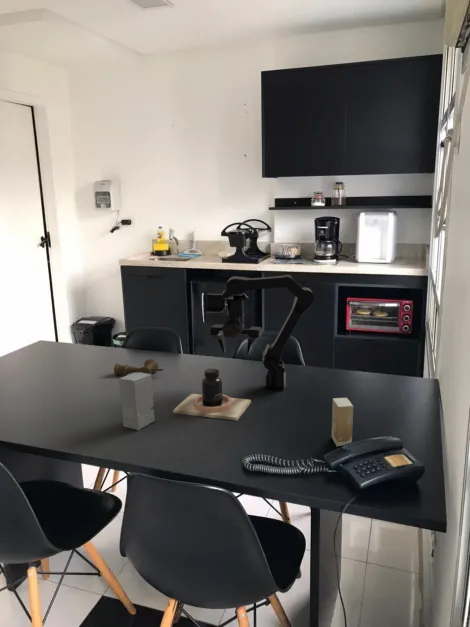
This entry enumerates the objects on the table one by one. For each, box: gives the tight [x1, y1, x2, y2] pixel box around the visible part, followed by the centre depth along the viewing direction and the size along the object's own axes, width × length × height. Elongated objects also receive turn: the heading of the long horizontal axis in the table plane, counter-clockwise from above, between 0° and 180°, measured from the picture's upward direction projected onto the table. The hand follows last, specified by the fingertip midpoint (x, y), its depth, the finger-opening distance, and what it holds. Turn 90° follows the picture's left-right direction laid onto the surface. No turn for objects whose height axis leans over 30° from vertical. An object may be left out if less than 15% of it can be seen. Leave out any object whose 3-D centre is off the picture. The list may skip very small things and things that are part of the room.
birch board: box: [172, 393, 252, 421], centre depth 169 cm, size 22×15×1 cm
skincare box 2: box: [331, 397, 354, 448], centre depth 142 cm, size 6×4×12 cm
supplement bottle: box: [201, 368, 223, 407], centre depth 168 cm, size 7×7×12 cm
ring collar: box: [194, 393, 232, 413], centre depth 169 cm, size 12×12×2 cm
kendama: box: [113, 358, 164, 377], centre depth 201 cm, size 6×10×20 cm
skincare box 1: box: [118, 372, 156, 431], centre depth 156 cm, size 8×7×16 cm
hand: (236, 353), depth 184 cm, fingers open, 9 cm apart
